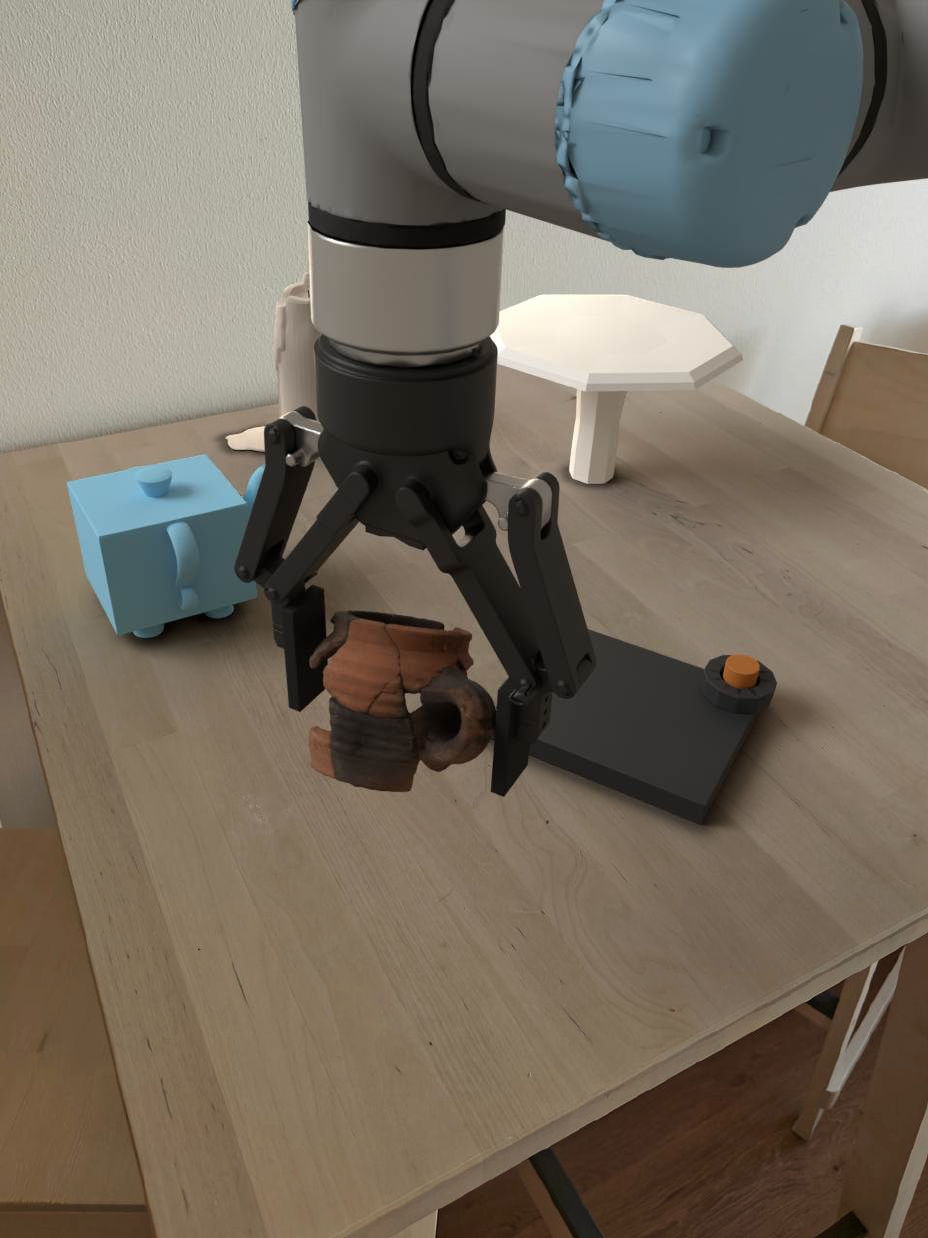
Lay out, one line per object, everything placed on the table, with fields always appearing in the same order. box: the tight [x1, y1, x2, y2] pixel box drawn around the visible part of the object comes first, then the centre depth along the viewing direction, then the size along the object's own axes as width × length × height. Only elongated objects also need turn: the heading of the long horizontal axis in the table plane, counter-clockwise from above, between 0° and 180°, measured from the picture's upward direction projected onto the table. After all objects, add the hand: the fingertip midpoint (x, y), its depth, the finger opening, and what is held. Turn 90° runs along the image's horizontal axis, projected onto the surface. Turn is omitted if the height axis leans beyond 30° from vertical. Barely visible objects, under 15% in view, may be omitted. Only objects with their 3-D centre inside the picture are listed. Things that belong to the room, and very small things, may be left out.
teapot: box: [66, 453, 265, 639], centre depth 88 cm, size 18×16×13 cm
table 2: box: [490, 293, 744, 485], centre depth 110 cm, size 28×28×17 cm
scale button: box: [723, 653, 760, 689], centre depth 79 cm, size 3×3×2 cm
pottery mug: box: [308, 609, 497, 793], centre depth 52 cm, size 12×10×8 cm
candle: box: [225, 270, 321, 453], centre depth 113 cm, size 7×14×20 cm, turn 105°
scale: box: [491, 628, 778, 825], centre depth 79 cm, size 18×16×4 cm
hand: (405, 736), depth 53 cm, fingers closed on pottery mug, 12 cm apart
